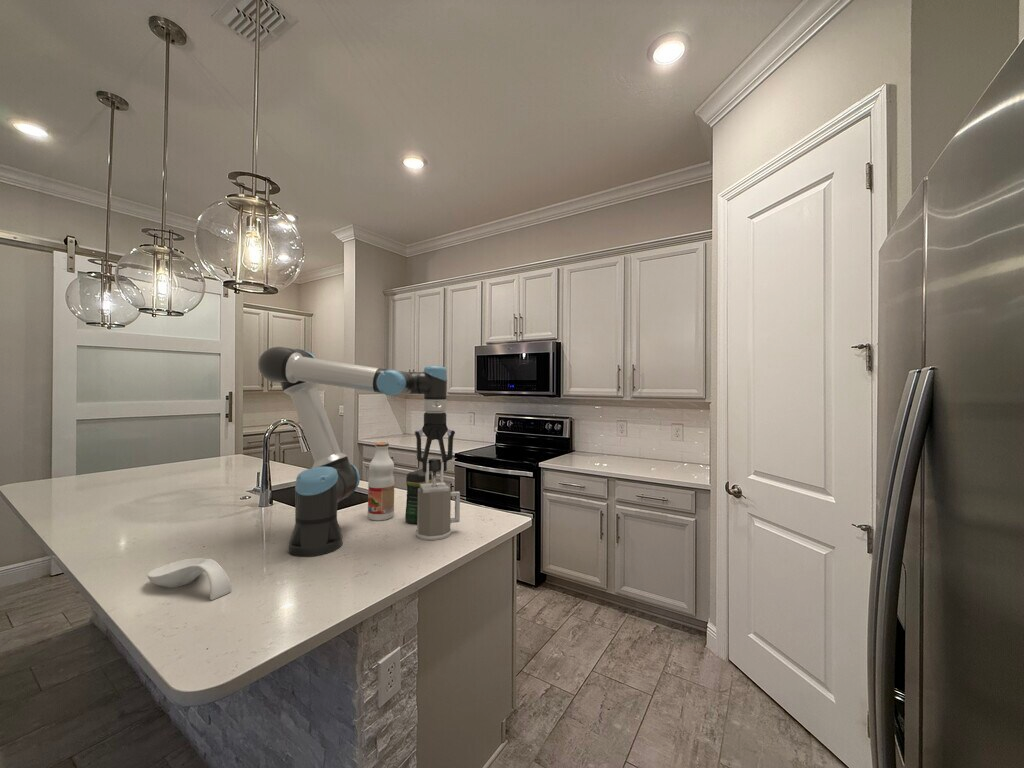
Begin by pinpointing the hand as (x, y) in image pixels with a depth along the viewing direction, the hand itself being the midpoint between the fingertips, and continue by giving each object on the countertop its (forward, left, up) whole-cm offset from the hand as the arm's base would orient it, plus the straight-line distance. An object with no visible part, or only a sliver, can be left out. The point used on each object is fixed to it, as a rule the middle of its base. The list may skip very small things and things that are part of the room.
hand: (434, 481), depth 140 cm
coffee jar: (-3, +16, -18) cm, 24 cm away
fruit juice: (-16, +24, -18) cm, 34 cm away
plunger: (0, 0, -13) cm, 13 cm away
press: (+1, 0, -18) cm, 18 cm away
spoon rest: (-62, -18, -18) cm, 67 cm away
